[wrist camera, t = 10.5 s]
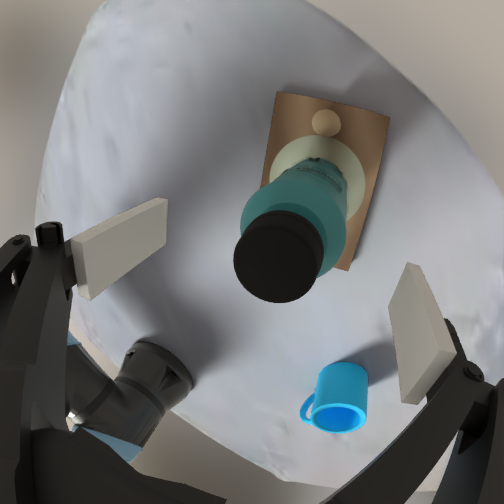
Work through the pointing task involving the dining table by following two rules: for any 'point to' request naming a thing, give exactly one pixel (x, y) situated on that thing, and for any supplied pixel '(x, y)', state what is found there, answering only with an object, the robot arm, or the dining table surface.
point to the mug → (338, 399)
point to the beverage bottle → (292, 231)
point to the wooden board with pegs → (329, 150)
